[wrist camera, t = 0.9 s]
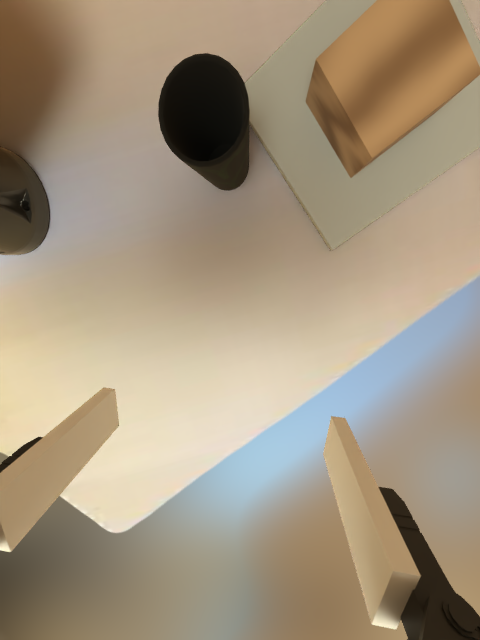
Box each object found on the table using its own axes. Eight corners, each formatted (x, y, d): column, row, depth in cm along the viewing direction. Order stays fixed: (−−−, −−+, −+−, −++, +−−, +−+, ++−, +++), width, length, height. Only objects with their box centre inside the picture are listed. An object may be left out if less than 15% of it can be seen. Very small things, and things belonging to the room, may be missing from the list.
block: (305, 101, 26) (315, 58, 20) (388, 25, 24) (427, -49, 18) (350, 178, 28) (372, 158, 22) (433, 114, 25) (482, 72, 19)
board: (234, 101, 28) (233, 94, 27) (410, -77, 22) (418, -95, 21) (330, 250, 31) (332, 250, 30) (504, 128, 26) (515, 122, 25)
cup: (267, 151, 29) (267, 83, 18) (239, 209, 31) (222, 183, 20) (214, 120, 29) (179, 31, 17) (190, 181, 31) (144, 138, 20)
